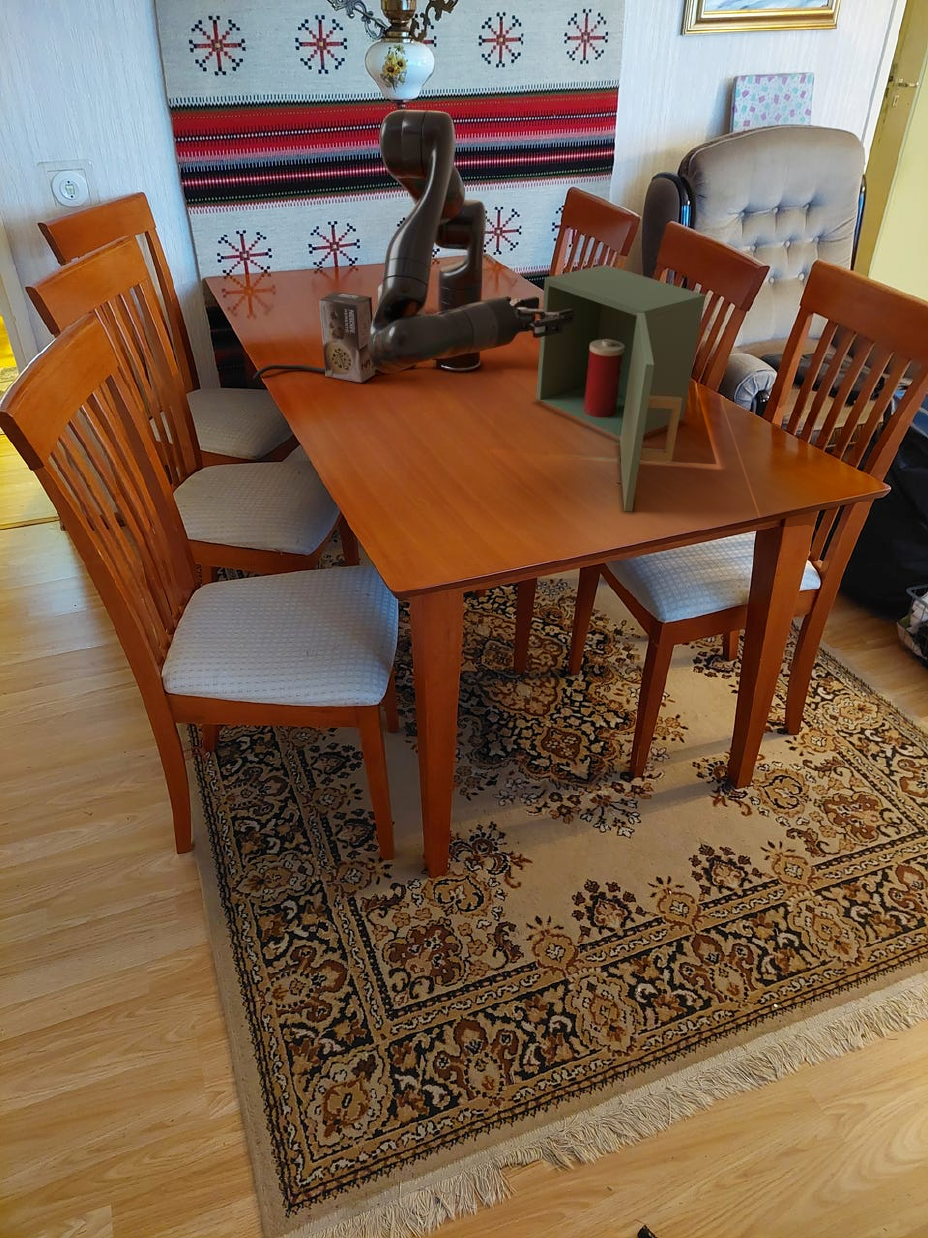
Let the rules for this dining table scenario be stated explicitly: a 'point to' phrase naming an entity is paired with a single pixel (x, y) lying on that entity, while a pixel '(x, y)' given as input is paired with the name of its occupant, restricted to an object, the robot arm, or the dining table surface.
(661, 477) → the dining table surface
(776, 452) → the dining table surface
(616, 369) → the red canister
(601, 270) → the cupboard
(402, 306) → the robot arm
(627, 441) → the cupboard door
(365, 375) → the coffee box
